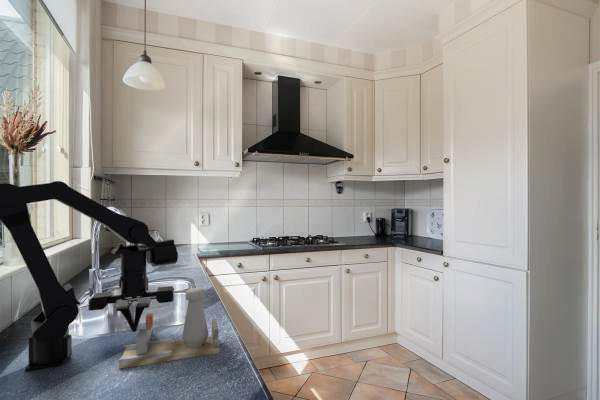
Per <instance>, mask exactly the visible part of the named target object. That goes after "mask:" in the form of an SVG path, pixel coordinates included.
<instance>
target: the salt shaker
mask: <svg viewBox="0 0 600 400" xmlns="http://www.w3.org/2000/svg"><path fill="white" fill-rule="evenodd" d="M205 296H206V293H205V289H204V288H202V287H191V288H189V289H187V290H186V291H185V300H186V301H187V307H186V312H185V313H186V314H185V320H184V325H183V328H182V329H183V330H182V341H184V343H185V345H186V347H187V348H190V349H195V348H200V347H202V346H203V345H204V344H205V342H206V340H207V337H209V329H208V325H207V319H206V313H205V307H204V301H203V300H204V299H205Z"/></svg>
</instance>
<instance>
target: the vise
mask: <svg viewBox="0 0 600 400" xmlns="http://www.w3.org/2000/svg"><path fill="white" fill-rule="evenodd" d="M217 320H218V319H217V318H213V319H211V334H212V335H211V336H208V337H207V340H206V342H205V344H204V345H203V346H202V347H200V348H195V349H190V348H187V347H186V345H185V343H184V341H183V340H178V341H174V338H168V339H159V340H154V341H149V349H148V352H147V354H144V355H138V356H136V343H131V344H126V345H125V346H124V352H123V353H122V354H123V355H122V356H121V357H120V358H119V359H118V369H126V368H132V367H139V366H145V365H151V364H156V363H164V362H169V361H176V360H183V359H188V358H194V357H202V356H207V355H208V356H209V355H213V354H214V355H215V354H219V349H220V347H219V327H218V326H219V325H218V321H217Z"/></svg>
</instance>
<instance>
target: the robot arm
mask: <svg viewBox="0 0 600 400" xmlns="http://www.w3.org/2000/svg"><path fill="white" fill-rule="evenodd" d="M50 200H51V201H52V200H54V201H57V202H59V203H61V204H63V205H65V206H67V207H68V208H70V209H73V210H74V211H76V212H79V213H80V214H82V215H84V216H86V217H88V218H90V219H92V220H93V221H96V222H97V223H99V224H101V225H103V226H104V227H105V228H107V230H109V231H110V232H111V233H113V234H114V235H115V236H116V237H118V238H119V239H120V240H122V241H123V242H126V243H130V244H131V245H123V244H122V243H118V244H117V245H116V246H115V247H114V248H113V249H112V250H111V251H110V252H111V253H112V254H114V255H120V276H119V281H118V282H119V283H118V288H120V290H121V291H120V294H115V295H113V291H104V292H96V293H95V294H94V295H93V296H92V297H91V298H90V299H89V300H88V311H99V310H104V309H105V308H106V307H107V306H108V305H110V304H116V308H115V311H116V312H120V313H121V314H122V316H123V317H124V318H125V320H126V322H127V324H128V325H129V328H130V329H131V332H132V333H136V332H138V328H139V324H140V321H141V317H142V314H143V312H144V311H145V309H148V308H150V305H151V303H152V300H156V301H157V302H158V303H159V304H164V303H172V302H174V298H175V288H174V286H173V285H169V286H159V287H157V290H155V291H149V278H148V276H147V264H149V265H151V266H152V267H153V268H156V267H161V266H162V267H163V266H169V265H175V264H177V262H178V259H179V252H178V250H177V247H176V245H175V239H164V240H157V241H156V240H155V239H154V238H153V237H152V236H151V234H150V233H149V226H148V225H147V223H145V222H143V221H141V220H138V219H135V218H133V217H129V216H127V215H123V214H121V213H118V212H115V211H113V210H111V209H110V208H108V207H106V206H104V205H103V204H101V203H99V202H97V201H96V200H94V199H92V198H90V197H89V196H86V195H85V194H83V193H82V192H80V191H77V190H76V189H74V188H72V187H70V186H69V184H67V183H66V182H64V181H61V180H56V181H55V180H54V181H51V182H47V183H39V184H31V185H30V184H28V185H23V186H22V185H21V186H18V185H15V184H12V183H6V182H5V183H0V222H1V224H3V225H4V227H5V228H6V229H7V231H8V232H9V233H10V235H11V237H12V239H13V241H14V243H15V245H16V247H17V249H18V252H19V253H20V255H21V257H22V260H23V261H24V263H25V265H26V267H27V269H28V271H29V273H30V275H31V277H32V279H33V281H34V284H35V285H36V288H37V290H38V296H39V301H40V304H41V309H42V310H41V311H40V312H39V313H38V314H37V315H36V316H35V317H34V318H32V320H31V321H30V326H31V330H32V334H31V335H30V336H28V338H27V339H28V364H26V365H25V366H24V371H30V370H37V369H44V368H50V367H51V368H52V367H59V366H62V365H63V364H64V362H65V361H66V360H67V359H68V358H69V357H70V355H71V354H72V352H73V350H72V348H73V347H72V346H73V345H72V344H73V343H72V342H73V341H72V334H70V331H69V330H70V329H69V327H70V324H72V323H73V322H74V321H75V320H76V319H77V317H78V315H79V313H80V310H79V309H80V308H79V306H78V305H81V302H80V301H79V299H78V298H77V296H76V295H75V290H74V288H73V286H72V285H71V283H69V282H68V283H66V284H64V285H63V286H62V284H61V283H60V282H59V280H58V277H57V276H56V274H55V271H54V269H53V267H52V265H51V263H50V261H49V259H48V257H47V255H46V252H45V251H44V248H43V246H42V244H41V242H40V240H39V238H38V236H37V234H36V232H35V230H34V227H33V225H32V222H31V218H30V211H29V207H28V204H32V203H33V204H34V203H39V202H44V201H50ZM132 244H133V245H132ZM137 244H138V245H141V246H144V247H141V248H140V247H139V246H137ZM134 302H137V304H136V306H135V309H134ZM134 310H135V312H134Z"/></svg>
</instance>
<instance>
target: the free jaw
mask: <svg viewBox="0 0 600 400" xmlns="http://www.w3.org/2000/svg"><path fill="white" fill-rule="evenodd" d="M154 319H155V314H154V312H149V313H146V315H145V325H144V329H143V328H142V329H139V330H138V331H137V332H138V333H137V334H136V337H135V344H136V356H138V355H144V354H147V352H148V349H149V342H150V338H151V334H153V333H154V330H155V328H154V327H155V326H154V325H155V322H154Z"/></svg>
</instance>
